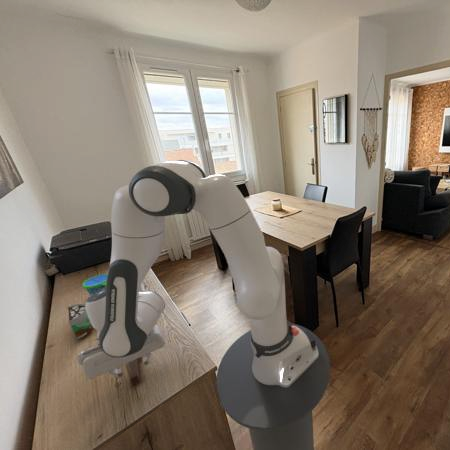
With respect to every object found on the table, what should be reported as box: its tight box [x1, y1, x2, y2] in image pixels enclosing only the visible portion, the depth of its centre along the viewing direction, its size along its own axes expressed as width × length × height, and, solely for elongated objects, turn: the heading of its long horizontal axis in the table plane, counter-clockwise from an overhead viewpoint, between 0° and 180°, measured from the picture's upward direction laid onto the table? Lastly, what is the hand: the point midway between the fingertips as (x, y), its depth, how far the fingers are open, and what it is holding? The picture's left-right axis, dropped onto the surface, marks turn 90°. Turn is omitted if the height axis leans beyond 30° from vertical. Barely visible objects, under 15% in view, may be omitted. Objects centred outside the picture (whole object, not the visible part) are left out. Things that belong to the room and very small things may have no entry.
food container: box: [66, 303, 95, 341], centre depth 95 cm, size 12×6×10 cm, turn 44°
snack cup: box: [82, 273, 108, 297], centre depth 114 cm, size 16×10×10 cm
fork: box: [128, 356, 143, 386], centre depth 79 cm, size 14×4×3 cm, turn 34°
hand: (134, 369), depth 76 cm, fingers open, 6 cm apart
